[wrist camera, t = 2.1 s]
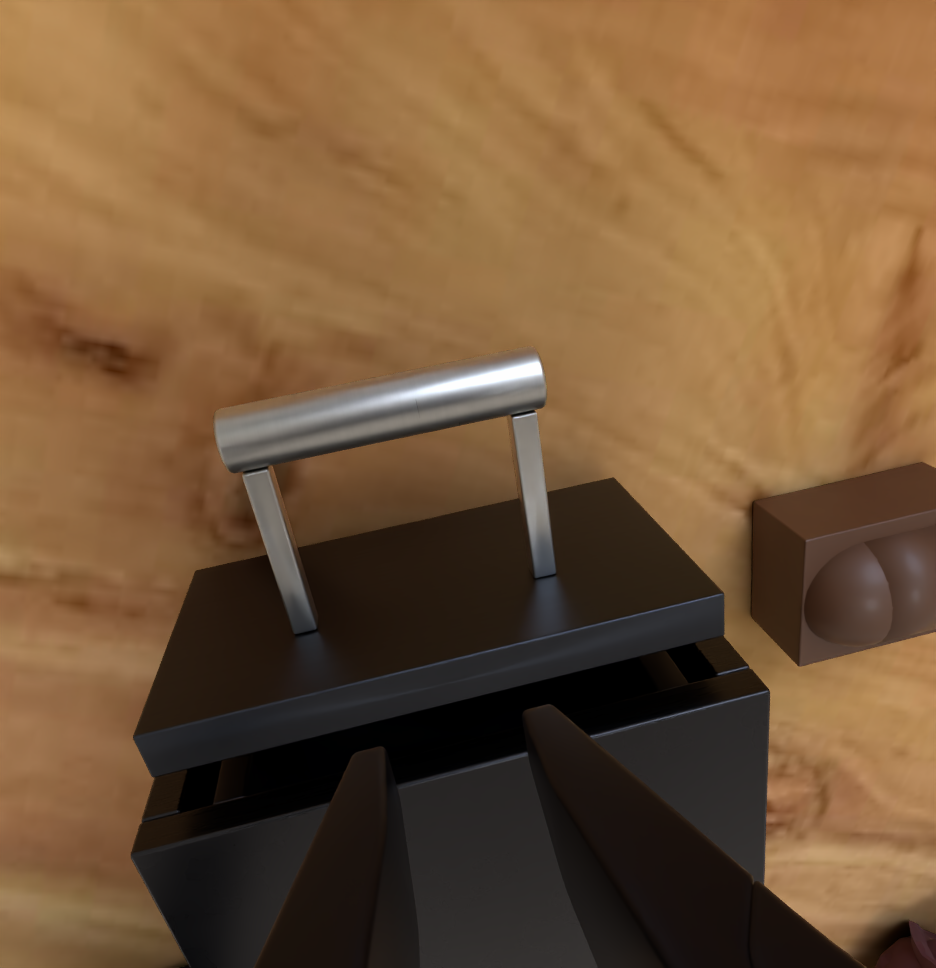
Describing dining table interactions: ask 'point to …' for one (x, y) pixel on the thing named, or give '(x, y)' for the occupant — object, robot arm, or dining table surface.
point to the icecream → (911, 950)
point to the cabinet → (466, 827)
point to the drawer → (414, 597)
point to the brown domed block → (847, 564)
